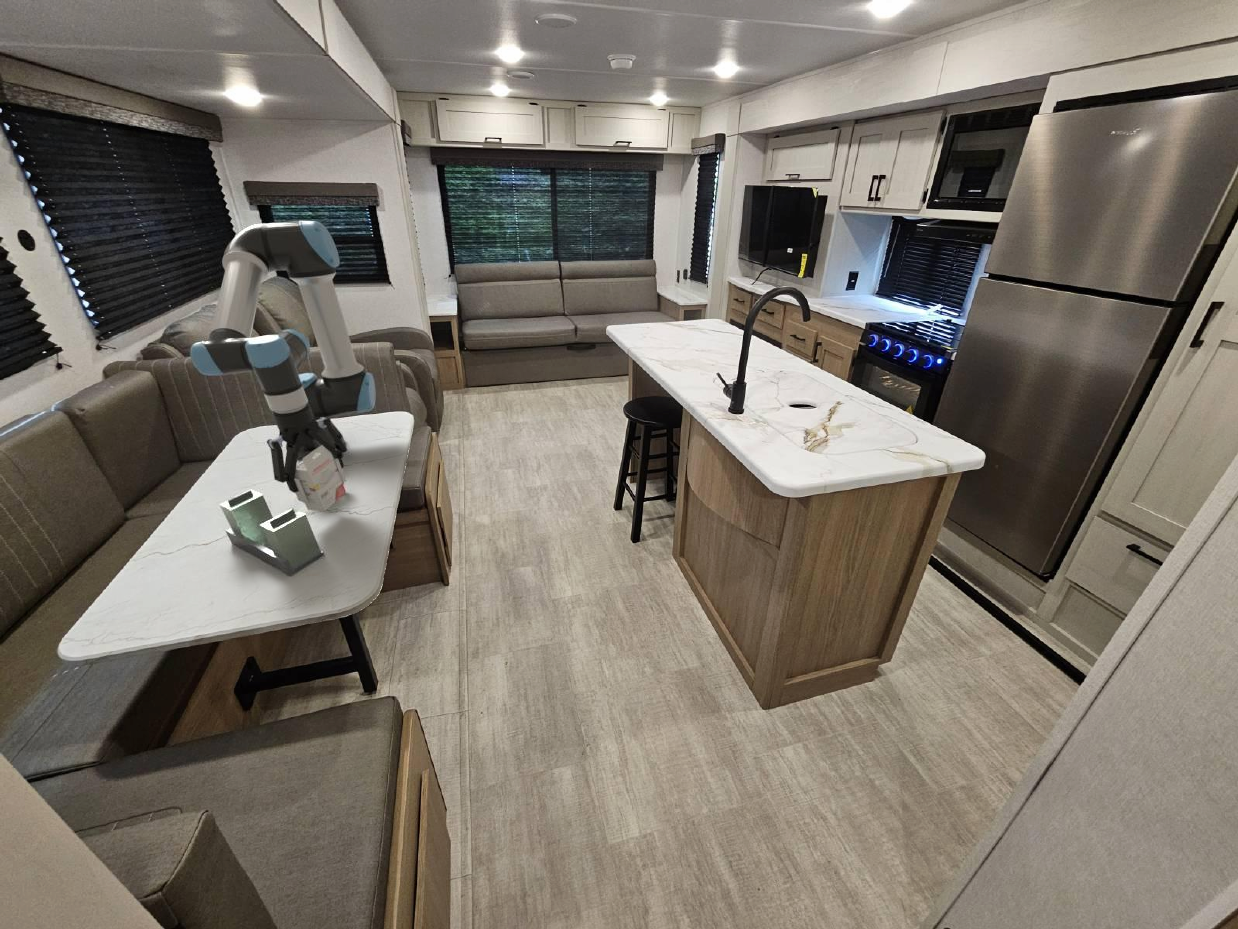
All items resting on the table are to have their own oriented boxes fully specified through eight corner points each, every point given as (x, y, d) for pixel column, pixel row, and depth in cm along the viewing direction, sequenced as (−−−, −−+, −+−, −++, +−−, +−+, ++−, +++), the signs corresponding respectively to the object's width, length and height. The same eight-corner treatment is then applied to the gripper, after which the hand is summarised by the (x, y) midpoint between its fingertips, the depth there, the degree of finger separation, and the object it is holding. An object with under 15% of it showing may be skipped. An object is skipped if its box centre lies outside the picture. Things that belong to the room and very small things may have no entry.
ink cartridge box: (329, 490, 133) (310, 439, 126) (346, 492, 132) (328, 441, 125) (306, 510, 126) (284, 457, 119) (324, 512, 125) (303, 459, 118)
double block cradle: (266, 526, 129) (246, 484, 123) (324, 555, 118) (306, 510, 112) (232, 544, 123) (210, 501, 117) (290, 576, 112) (269, 530, 106)
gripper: (325, 386, 126) (353, 466, 137) (229, 423, 110) (269, 509, 121) (344, 392, 123) (371, 473, 134) (248, 430, 106) (288, 519, 118)
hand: (323, 490), depth 128 cm, fingers closed on ink cartridge box, 9 cm apart
